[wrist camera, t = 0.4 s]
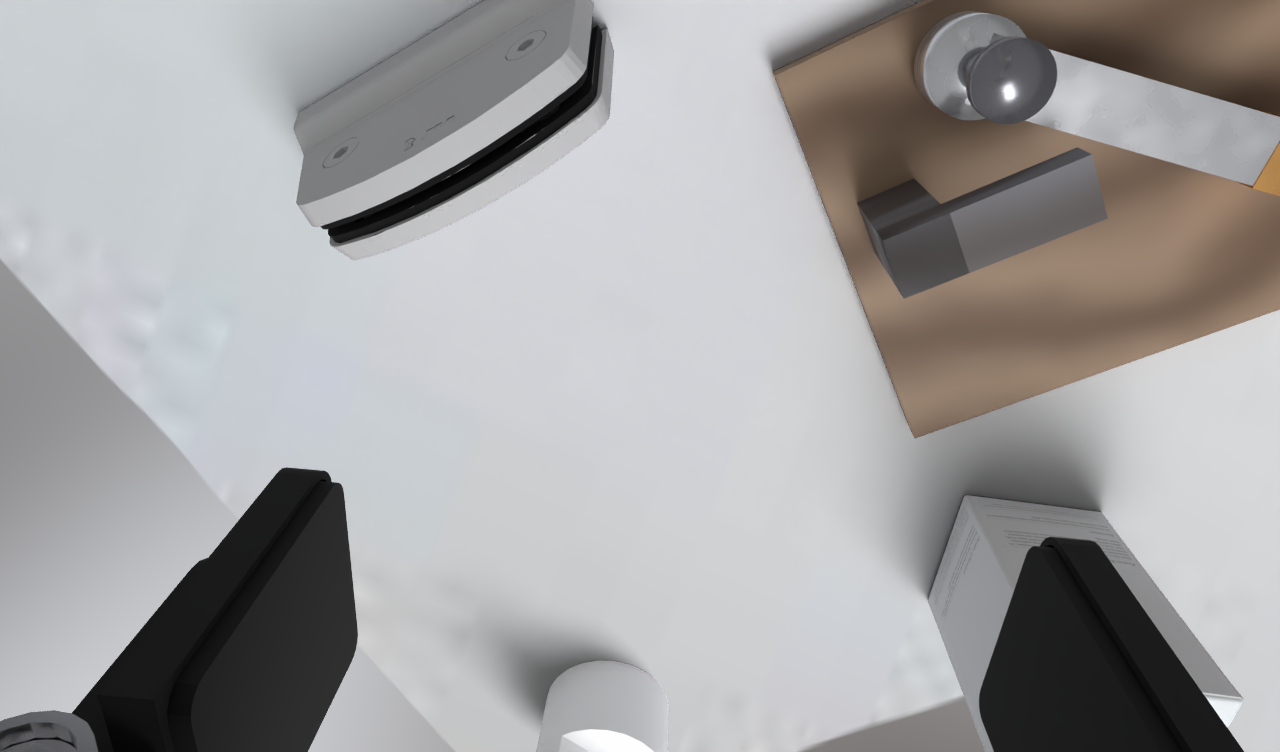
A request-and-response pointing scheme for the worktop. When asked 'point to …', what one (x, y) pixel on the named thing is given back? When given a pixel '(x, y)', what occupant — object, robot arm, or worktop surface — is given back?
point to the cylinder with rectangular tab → (605, 711)
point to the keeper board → (1077, 275)
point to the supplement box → (988, 573)
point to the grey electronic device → (453, 122)
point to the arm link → (1091, 100)
